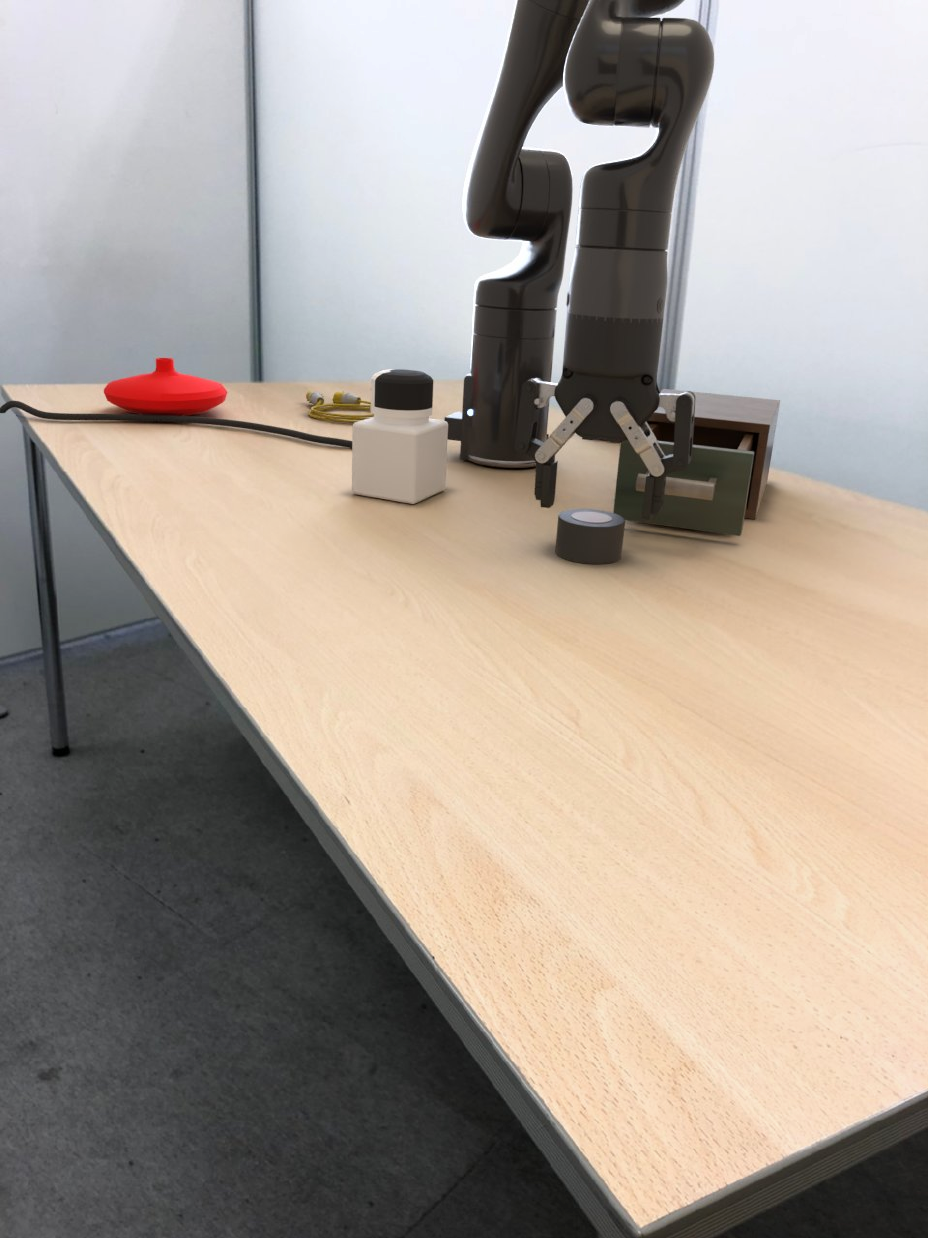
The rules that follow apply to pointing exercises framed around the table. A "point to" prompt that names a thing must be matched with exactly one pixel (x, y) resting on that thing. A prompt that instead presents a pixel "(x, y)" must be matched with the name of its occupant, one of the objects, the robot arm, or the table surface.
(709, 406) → the cabinet
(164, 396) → the red squat vase
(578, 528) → the tape
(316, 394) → the extension cord
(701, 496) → the drawer
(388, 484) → the medicine bottle
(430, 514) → the table surface
